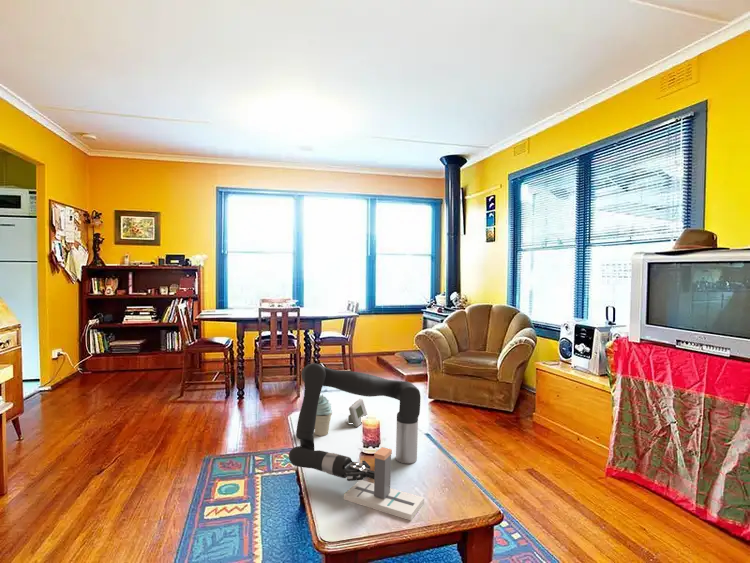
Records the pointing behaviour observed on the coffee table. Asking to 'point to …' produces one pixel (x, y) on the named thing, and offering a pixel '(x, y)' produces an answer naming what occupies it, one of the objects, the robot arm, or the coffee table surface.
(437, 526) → the coffee table surface
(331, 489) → the coffee table surface
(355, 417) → the digital clock
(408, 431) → the robot arm
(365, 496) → the plate
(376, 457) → the post
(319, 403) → the ice cream cone
